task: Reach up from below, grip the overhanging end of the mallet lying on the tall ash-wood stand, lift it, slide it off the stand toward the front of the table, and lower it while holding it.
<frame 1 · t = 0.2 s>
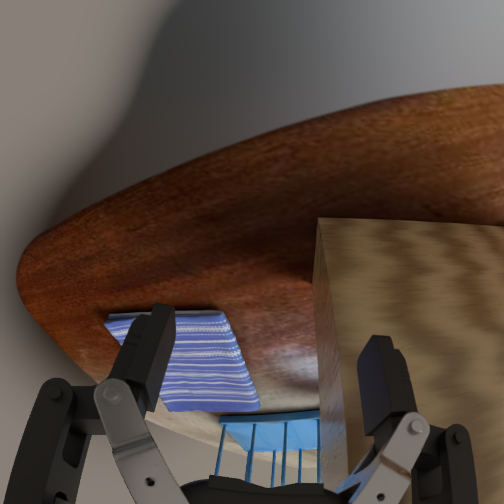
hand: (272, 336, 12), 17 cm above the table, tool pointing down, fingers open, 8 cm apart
dish towel: (191, 364, 44), on the table
stand: (425, 255, 29), on the table
file sorter: (294, 428, 55), on the table
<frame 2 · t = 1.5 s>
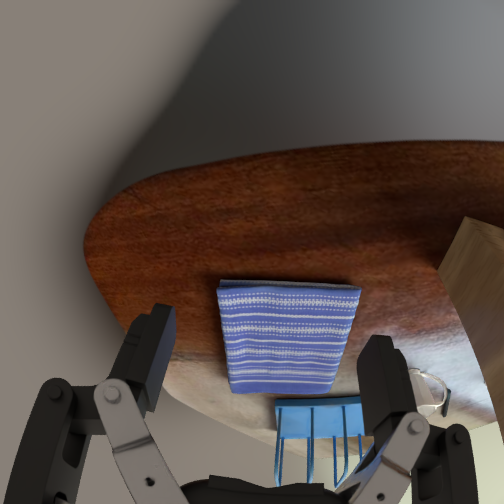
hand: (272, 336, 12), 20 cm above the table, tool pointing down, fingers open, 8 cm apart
pen: (445, 402, 54), on the table
dish towel: (284, 341, 43), on the table
cup: (416, 373, 47), on the table
file sorter: (337, 414, 57), on the table
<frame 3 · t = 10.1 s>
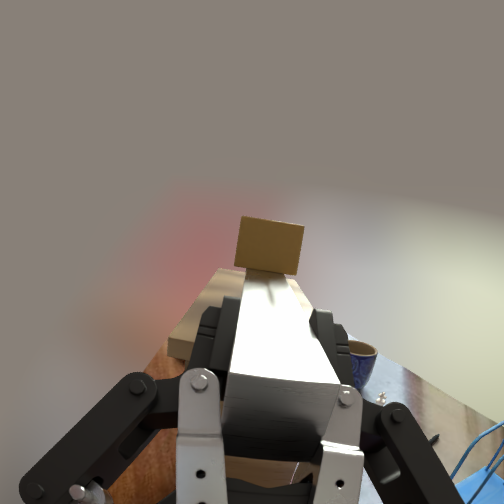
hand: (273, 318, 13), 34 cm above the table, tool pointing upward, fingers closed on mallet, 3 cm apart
pen: (421, 451, 46), on the table
planter: (346, 386, 75), on the table
mallet: (263, 395, 12), point 31 cm above the table, touching gripper, stand
chess piece: (368, 433, 53), on the table
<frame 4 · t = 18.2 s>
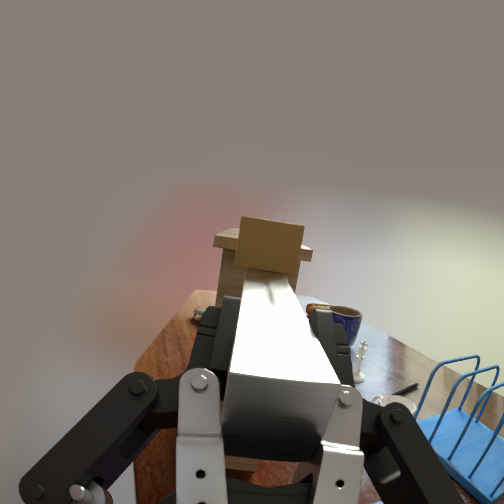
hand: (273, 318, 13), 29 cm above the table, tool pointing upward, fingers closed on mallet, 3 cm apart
pen: (401, 394, 61), on the table
planter: (336, 346, 90), on the table
stand: (231, 421, 47), on the table
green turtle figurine: (205, 324, 94), on the table
cup: (377, 437, 45), on the table
mallet: (263, 395, 12), point 26 cm above the table, touching gripper
chess piece: (354, 378, 69), on the table
hot dog: (321, 317, 119), on the table
file sorter: (469, 455, 36), on the table
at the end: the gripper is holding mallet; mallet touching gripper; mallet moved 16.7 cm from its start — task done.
